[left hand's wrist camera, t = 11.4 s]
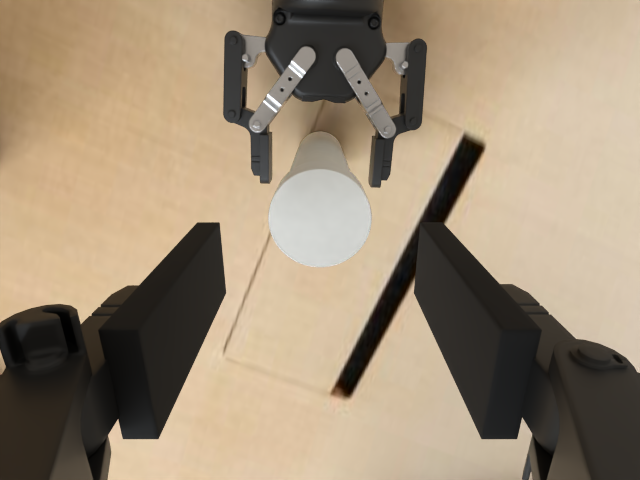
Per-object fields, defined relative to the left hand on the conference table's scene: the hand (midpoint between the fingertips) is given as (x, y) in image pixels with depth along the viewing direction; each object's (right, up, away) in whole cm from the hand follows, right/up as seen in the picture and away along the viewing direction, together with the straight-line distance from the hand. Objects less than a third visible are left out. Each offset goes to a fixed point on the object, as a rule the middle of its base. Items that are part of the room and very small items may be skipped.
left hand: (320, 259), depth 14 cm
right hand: (0, +5, +17) cm, 18 cm away
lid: (0, +2, +5) cm, 5 cm away
